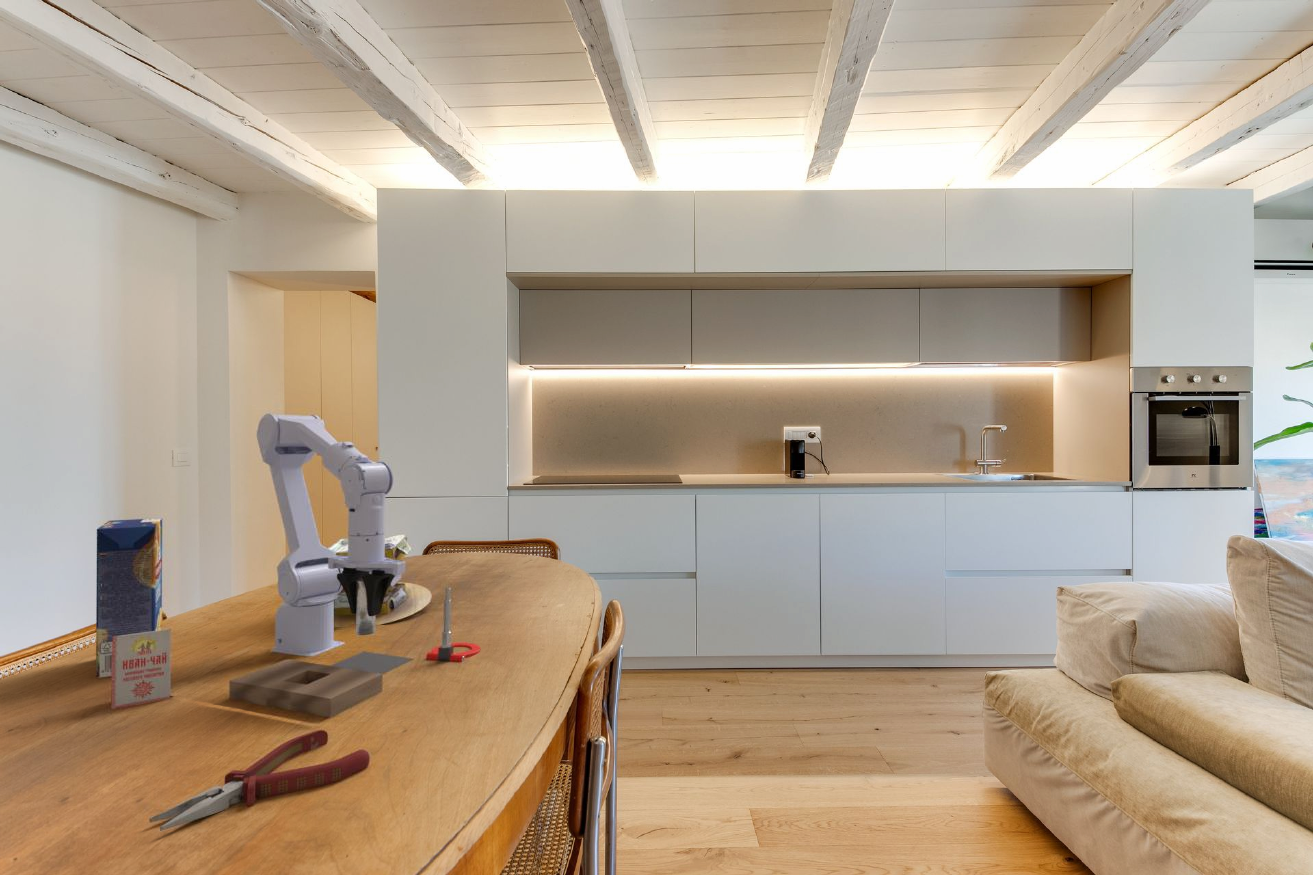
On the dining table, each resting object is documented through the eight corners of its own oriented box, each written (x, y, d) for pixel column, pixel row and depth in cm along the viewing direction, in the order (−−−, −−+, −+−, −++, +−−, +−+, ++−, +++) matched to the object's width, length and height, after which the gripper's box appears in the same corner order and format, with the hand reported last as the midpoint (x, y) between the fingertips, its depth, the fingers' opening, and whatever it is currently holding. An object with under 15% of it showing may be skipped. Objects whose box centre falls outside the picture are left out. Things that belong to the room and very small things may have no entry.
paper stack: (390, 631, 132) (390, 548, 132) (282, 623, 137) (282, 543, 137) (450, 601, 156) (451, 531, 156) (357, 595, 161) (357, 527, 161)
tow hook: (445, 647, 124) (420, 661, 115) (447, 578, 124) (423, 587, 115) (487, 650, 123) (466, 665, 113) (489, 580, 123) (468, 589, 114)
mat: (314, 674, 108) (314, 672, 108) (363, 653, 118) (363, 651, 118) (367, 683, 105) (367, 680, 105) (414, 660, 115) (414, 658, 115)
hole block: (229, 701, 97) (229, 680, 97) (287, 677, 107) (287, 659, 107) (330, 720, 91) (330, 698, 91) (382, 693, 101) (382, 673, 101)
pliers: (132, 817, 69) (133, 792, 69) (322, 744, 85) (322, 723, 85) (178, 858, 62) (178, 831, 62) (373, 770, 79) (374, 748, 79)
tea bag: (113, 701, 97) (113, 633, 97) (170, 690, 101) (170, 625, 101) (111, 709, 94) (111, 639, 94) (170, 698, 98) (170, 631, 98)
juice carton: (154, 669, 110) (154, 526, 109) (95, 678, 106) (96, 529, 105) (161, 649, 120) (162, 517, 120) (108, 656, 116) (109, 520, 116)
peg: (351, 633, 111) (352, 580, 110) (365, 629, 113) (365, 576, 113) (366, 635, 110) (366, 582, 110) (379, 630, 112) (379, 578, 112)
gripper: (314, 534, 110) (313, 615, 110) (384, 539, 105) (383, 624, 105) (346, 528, 117) (345, 605, 117) (414, 533, 112) (413, 613, 112)
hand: (365, 613), depth 111 cm, fingers closed on peg, 3 cm apart
